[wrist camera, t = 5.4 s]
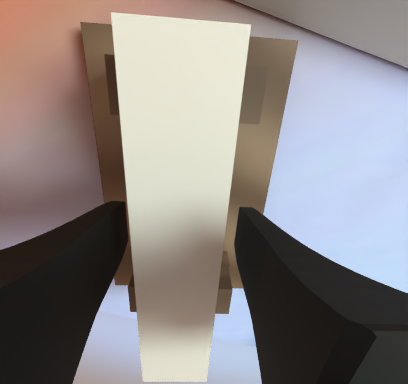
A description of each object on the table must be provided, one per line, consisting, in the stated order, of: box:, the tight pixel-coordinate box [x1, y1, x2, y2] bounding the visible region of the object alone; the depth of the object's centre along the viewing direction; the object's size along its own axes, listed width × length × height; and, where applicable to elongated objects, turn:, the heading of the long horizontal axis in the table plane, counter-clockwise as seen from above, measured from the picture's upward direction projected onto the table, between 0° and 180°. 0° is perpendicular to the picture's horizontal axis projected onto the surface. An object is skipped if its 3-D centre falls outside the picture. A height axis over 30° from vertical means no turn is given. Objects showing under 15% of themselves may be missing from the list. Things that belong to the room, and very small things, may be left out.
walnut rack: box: [80, 22, 298, 314], centre depth 13 cm, size 16×10×4 cm, turn 176°
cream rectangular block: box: [111, 12, 251, 382], centre depth 10 cm, size 14×3×5 cm, turn 176°
